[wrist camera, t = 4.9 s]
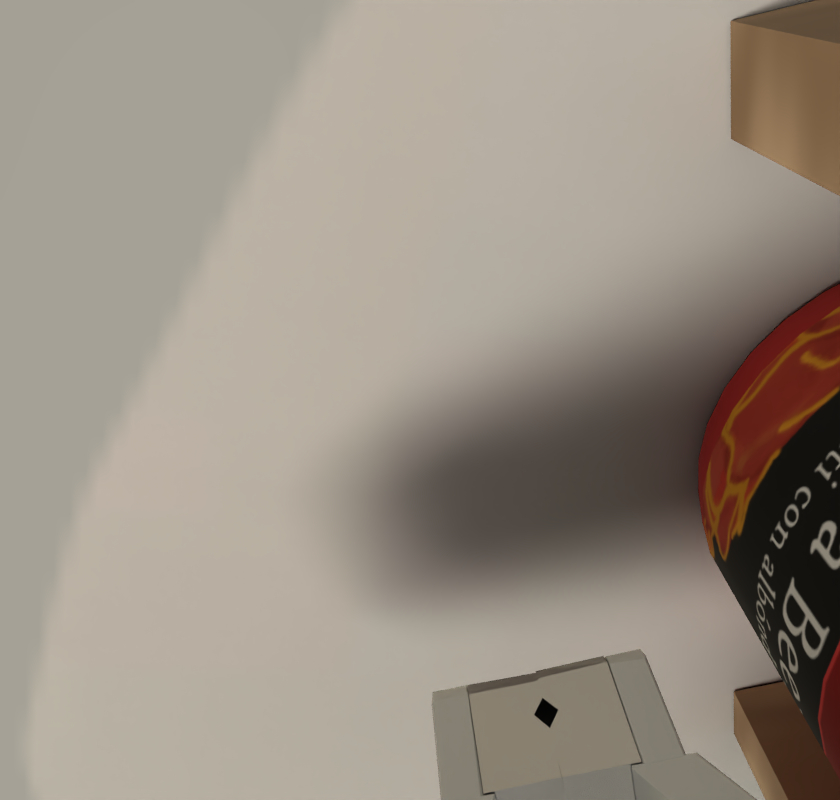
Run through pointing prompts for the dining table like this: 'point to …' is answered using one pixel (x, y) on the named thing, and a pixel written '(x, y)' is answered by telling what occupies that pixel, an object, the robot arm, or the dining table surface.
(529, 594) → the dining table surface
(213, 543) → the dining table surface
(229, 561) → the dining table surface
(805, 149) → the bay
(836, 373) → the canned food
